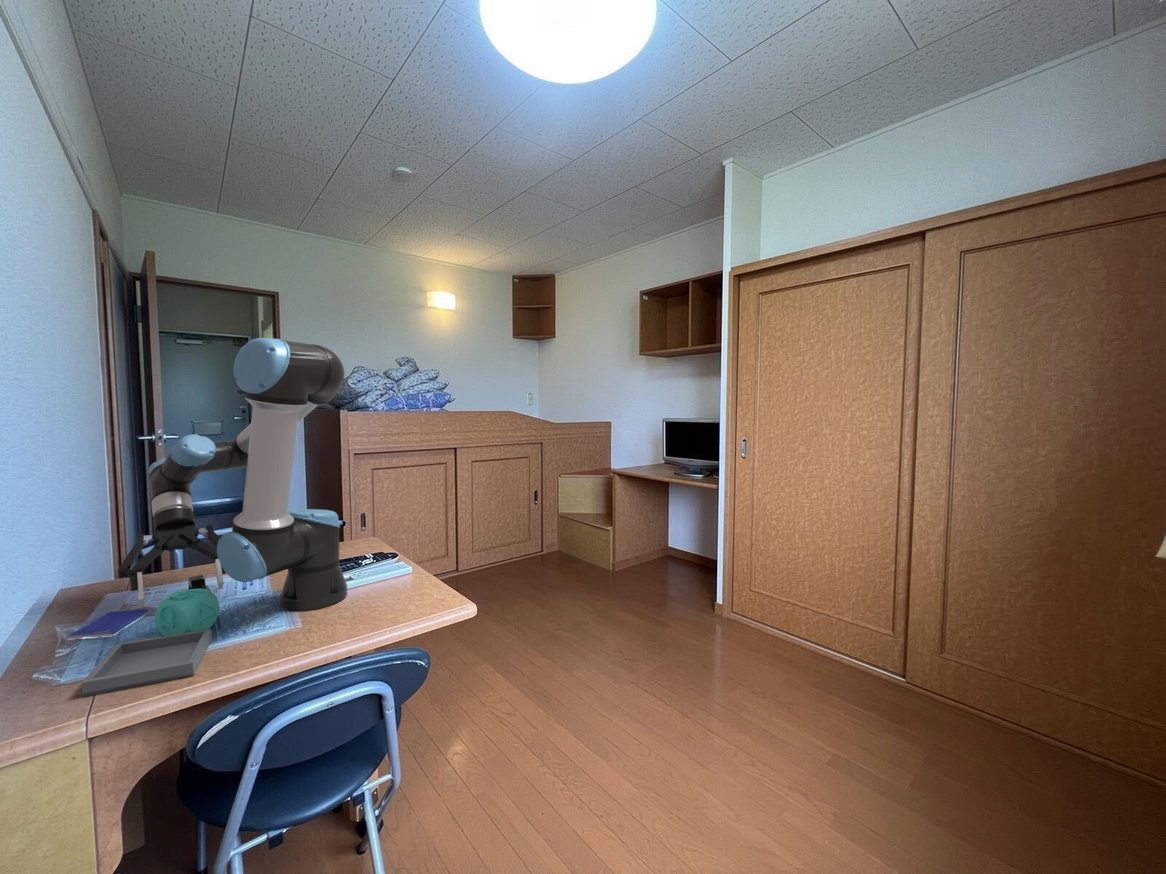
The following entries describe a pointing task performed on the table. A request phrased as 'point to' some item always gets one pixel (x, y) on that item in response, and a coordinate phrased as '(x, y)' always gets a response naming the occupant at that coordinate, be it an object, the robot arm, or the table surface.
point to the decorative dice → (187, 612)
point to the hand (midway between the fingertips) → (183, 593)
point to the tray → (148, 662)
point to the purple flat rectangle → (108, 624)
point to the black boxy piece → (197, 583)
